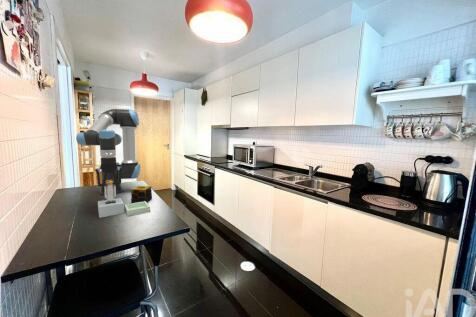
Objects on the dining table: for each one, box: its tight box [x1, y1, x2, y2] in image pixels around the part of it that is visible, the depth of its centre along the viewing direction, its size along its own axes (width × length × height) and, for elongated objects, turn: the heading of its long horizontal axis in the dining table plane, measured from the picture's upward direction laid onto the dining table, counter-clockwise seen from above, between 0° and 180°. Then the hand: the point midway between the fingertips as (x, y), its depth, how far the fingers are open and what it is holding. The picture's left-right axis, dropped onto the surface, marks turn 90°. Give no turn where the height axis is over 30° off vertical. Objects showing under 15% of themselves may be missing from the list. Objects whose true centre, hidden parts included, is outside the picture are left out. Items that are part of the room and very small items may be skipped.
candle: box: [130, 185, 153, 204], centre depth 138 cm, size 10×10×10 cm
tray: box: [124, 201, 151, 217], centre depth 122 cm, size 12×12×3 cm
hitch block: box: [97, 197, 125, 219], centre depth 118 cm, size 12×12×6 cm
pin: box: [105, 180, 116, 204], centre depth 118 cm, size 5×5×17 cm
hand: (110, 196), depth 118 cm, fingers closed on pin, 4 cm apart
